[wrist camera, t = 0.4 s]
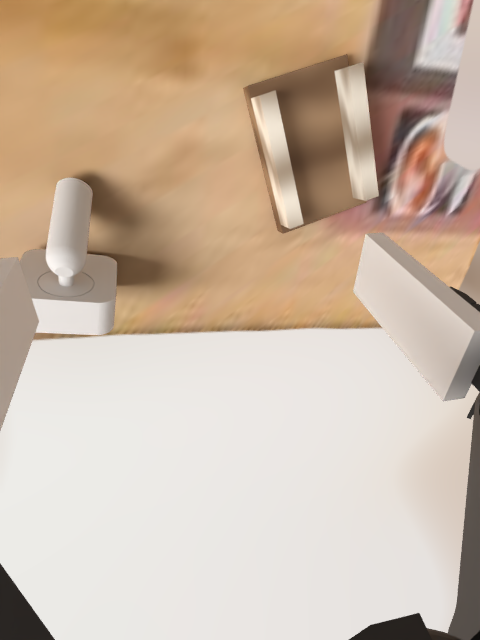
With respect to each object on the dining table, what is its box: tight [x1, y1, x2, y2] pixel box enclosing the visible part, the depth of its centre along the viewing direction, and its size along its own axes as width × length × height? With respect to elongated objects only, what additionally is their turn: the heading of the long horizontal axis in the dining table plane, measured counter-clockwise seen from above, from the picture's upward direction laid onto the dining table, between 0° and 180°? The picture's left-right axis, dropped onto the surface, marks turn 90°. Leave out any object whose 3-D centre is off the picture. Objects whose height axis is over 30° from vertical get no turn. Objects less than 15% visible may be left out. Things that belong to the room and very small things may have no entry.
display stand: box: [243, 54, 379, 233], centre depth 39 cm, size 14×10×4 cm
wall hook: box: [20, 178, 117, 335], centre depth 35 cm, size 8×10×10 cm
